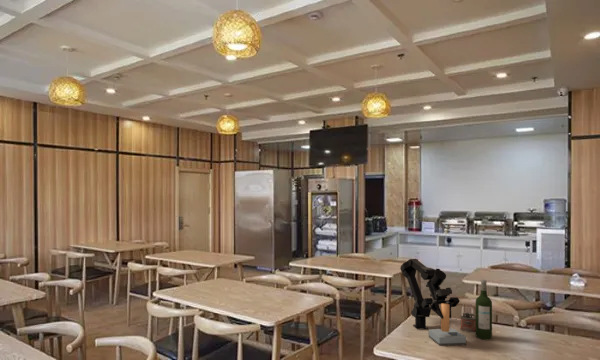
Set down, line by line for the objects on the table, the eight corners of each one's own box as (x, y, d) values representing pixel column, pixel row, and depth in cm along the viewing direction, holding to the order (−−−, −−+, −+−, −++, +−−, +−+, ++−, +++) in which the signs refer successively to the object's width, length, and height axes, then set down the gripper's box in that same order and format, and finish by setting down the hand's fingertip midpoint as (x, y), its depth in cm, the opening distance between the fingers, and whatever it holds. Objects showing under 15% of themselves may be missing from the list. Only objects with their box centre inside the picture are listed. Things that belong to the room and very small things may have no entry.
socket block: (428, 337, 215) (428, 329, 215) (454, 336, 217) (454, 328, 217) (439, 345, 203) (439, 337, 203) (466, 344, 205) (466, 336, 205)
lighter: (460, 330, 226) (460, 312, 226) (460, 328, 229) (460, 310, 229) (475, 333, 222) (475, 314, 222) (476, 331, 225) (476, 313, 225)
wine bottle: (488, 335, 219) (488, 278, 220) (494, 340, 211) (494, 281, 212) (473, 334, 220) (473, 278, 221) (478, 339, 212) (478, 281, 213)
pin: (439, 330, 205) (439, 304, 205) (443, 328, 208) (443, 302, 208) (446, 332, 202) (446, 305, 202) (450, 330, 205) (451, 304, 205)
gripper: (424, 282, 208) (435, 310, 197) (457, 281, 211) (470, 309, 200) (416, 293, 215) (427, 321, 204) (449, 292, 219) (461, 320, 208)
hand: (446, 318), depth 204 cm, fingers closed on pin, 4 cm apart
